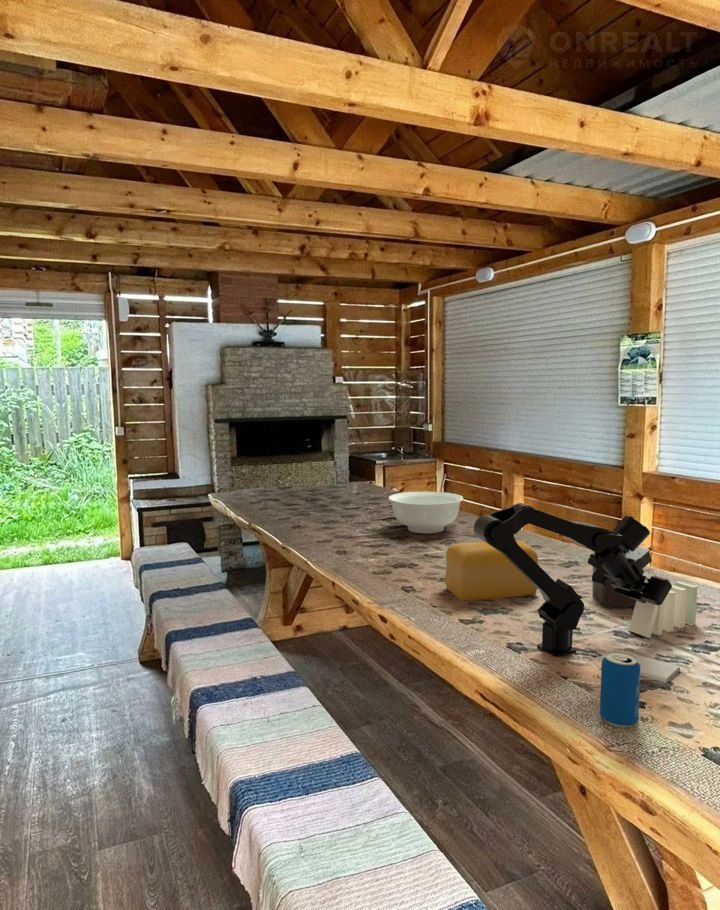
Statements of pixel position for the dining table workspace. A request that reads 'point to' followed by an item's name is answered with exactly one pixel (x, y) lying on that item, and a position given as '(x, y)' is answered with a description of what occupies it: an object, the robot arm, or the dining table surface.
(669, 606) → the domino
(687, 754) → the dining table surface
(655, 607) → the domino
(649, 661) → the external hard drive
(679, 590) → the domino
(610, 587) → the dark brown boxy piece
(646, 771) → the dining table surface
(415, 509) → the bowl
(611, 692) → the beverage can
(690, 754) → the dining table surface
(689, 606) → the domino
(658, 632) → the domino
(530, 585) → the bread
